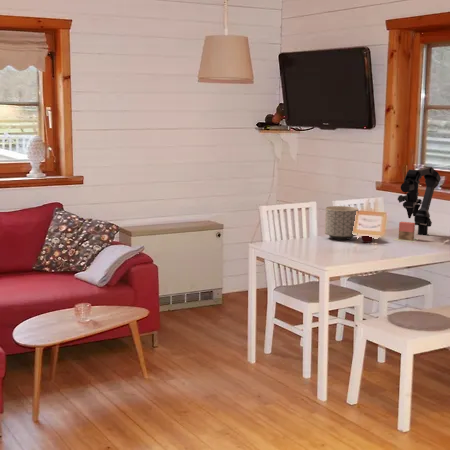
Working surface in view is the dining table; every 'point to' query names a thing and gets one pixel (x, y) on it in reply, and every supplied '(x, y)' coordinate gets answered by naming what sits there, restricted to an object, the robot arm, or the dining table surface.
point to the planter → (340, 222)
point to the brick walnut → (406, 235)
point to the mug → (367, 239)
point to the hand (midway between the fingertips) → (411, 217)
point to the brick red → (406, 226)
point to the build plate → (406, 240)
